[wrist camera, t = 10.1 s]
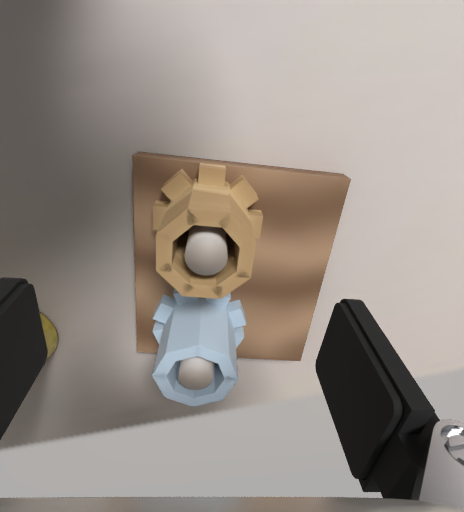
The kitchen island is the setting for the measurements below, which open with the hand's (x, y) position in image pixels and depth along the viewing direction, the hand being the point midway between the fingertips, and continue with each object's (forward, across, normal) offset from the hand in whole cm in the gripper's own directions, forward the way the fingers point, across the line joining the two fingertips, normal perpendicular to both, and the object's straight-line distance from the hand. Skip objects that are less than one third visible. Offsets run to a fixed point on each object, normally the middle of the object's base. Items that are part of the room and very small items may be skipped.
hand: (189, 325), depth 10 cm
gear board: (+14, -3, +6) cm, 15 cm away
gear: (+12, -1, +10) cm, 16 cm away
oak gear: (+12, -1, +1) cm, 13 cm away
